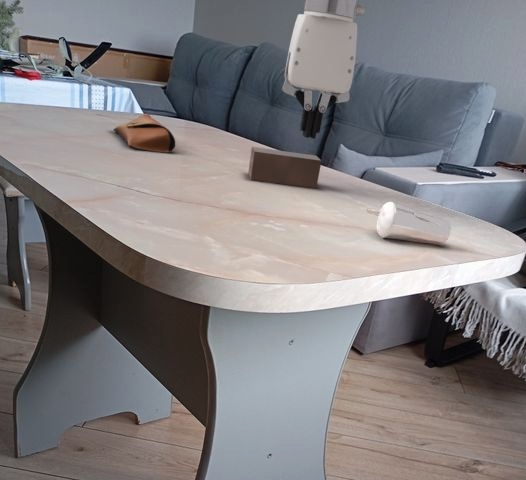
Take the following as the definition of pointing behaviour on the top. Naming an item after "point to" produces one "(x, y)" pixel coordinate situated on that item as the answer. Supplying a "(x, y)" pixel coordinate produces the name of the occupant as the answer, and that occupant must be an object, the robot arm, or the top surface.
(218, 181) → the top surface
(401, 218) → the milkshake
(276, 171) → the walnut pillar
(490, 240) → the top surface
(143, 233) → the top surface
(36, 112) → the top surface
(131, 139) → the sunglasses case
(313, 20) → the robot arm
